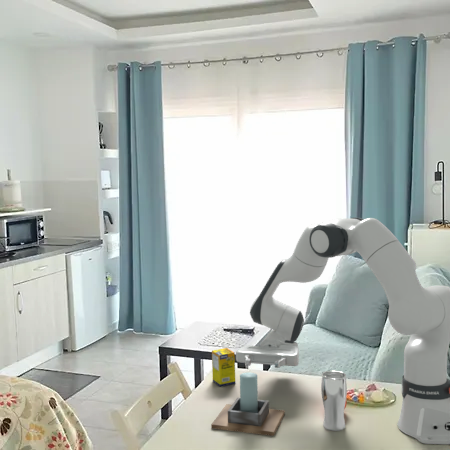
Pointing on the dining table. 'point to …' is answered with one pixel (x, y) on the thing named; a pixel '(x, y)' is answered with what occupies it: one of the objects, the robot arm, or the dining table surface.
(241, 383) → the teal cylinder
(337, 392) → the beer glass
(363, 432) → the dining table surface
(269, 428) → the cup bracket
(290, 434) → the dining table surface
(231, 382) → the supplement box
